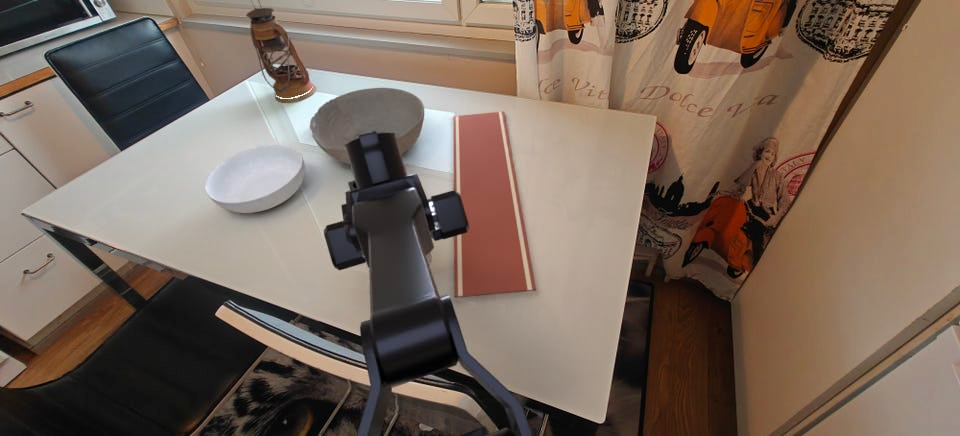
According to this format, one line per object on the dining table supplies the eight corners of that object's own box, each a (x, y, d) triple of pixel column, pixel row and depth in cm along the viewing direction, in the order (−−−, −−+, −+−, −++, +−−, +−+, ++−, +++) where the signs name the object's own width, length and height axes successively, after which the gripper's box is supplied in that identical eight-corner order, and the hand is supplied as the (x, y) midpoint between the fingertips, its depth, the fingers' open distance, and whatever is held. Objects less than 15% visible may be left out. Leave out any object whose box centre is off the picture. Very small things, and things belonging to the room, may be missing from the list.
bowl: (322, 132, 112) (308, 99, 105) (418, 110, 117) (411, 77, 110) (325, 192, 93) (309, 157, 86) (441, 163, 98) (434, 127, 91)
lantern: (328, 86, 133) (291, -16, 112) (303, 105, 125) (258, 0, 104) (288, 81, 138) (246, -17, 118) (261, 99, 130) (210, -2, 109)
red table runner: (535, 290, 69) (535, 289, 69) (454, 297, 70) (454, 296, 70) (503, 112, 112) (503, 111, 112) (453, 117, 113) (453, 116, 113)
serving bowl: (220, 238, 85) (202, 215, 80) (221, 183, 99) (205, 161, 94) (319, 204, 90) (308, 180, 86) (306, 157, 104) (296, 134, 100)
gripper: (452, 143, 50) (443, 166, 65) (297, 183, 47) (326, 197, 62) (477, 230, 50) (462, 232, 65) (324, 275, 47) (346, 267, 62)
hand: (400, 230), depth 64 cm, fingers closed on can, 7 cm apart
